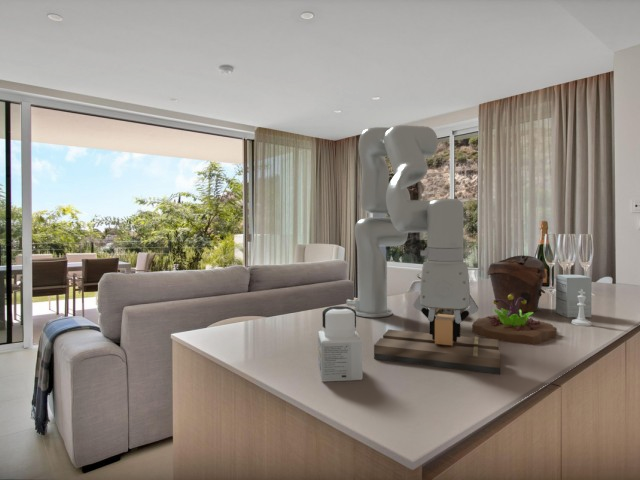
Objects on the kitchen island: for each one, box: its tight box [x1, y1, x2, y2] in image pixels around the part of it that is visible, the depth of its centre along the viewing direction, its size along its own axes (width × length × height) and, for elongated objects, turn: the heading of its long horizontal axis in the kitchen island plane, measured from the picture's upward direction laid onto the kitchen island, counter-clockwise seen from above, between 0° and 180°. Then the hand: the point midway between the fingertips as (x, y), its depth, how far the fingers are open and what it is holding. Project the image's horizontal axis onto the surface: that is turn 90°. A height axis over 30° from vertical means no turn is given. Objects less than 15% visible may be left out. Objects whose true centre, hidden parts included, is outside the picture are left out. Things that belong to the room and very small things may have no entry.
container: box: [317, 305, 364, 383], centre depth 77 cm, size 8×8×13 cm
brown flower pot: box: [486, 255, 547, 313], centre depth 135 cm, size 18×20×18 cm
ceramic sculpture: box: [435, 309, 466, 316], centre depth 128 cm, size 11×9×15 cm
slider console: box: [373, 329, 501, 375], centre depth 88 cm, size 25×14×3 cm, turn 67°
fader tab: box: [435, 314, 455, 345], centre depth 87 cm, size 4×6×7 cm, turn 157°
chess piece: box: [571, 289, 592, 327], centre depth 115 cm, size 5×5×10 cm
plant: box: [471, 293, 558, 345], centre depth 106 cm, size 20×20×11 cm
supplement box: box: [555, 274, 593, 318], centre depth 126 cm, size 7×7×13 cm
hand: (444, 338), depth 87 cm, fingers closed on fader tab, 3 cm apart
